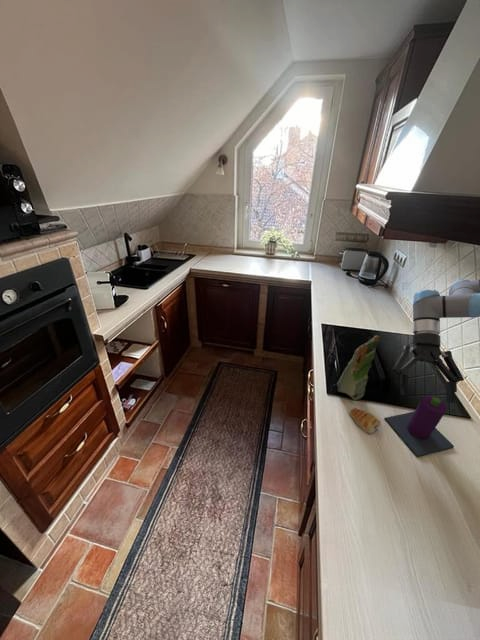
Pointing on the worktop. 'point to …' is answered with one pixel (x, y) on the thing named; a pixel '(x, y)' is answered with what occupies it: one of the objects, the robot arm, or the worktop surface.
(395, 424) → the mat
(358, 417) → the pastry
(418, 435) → the aubergine
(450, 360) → the robot arm
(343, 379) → the pouch
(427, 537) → the worktop surface
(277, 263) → the worktop surface
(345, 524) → the worktop surface
